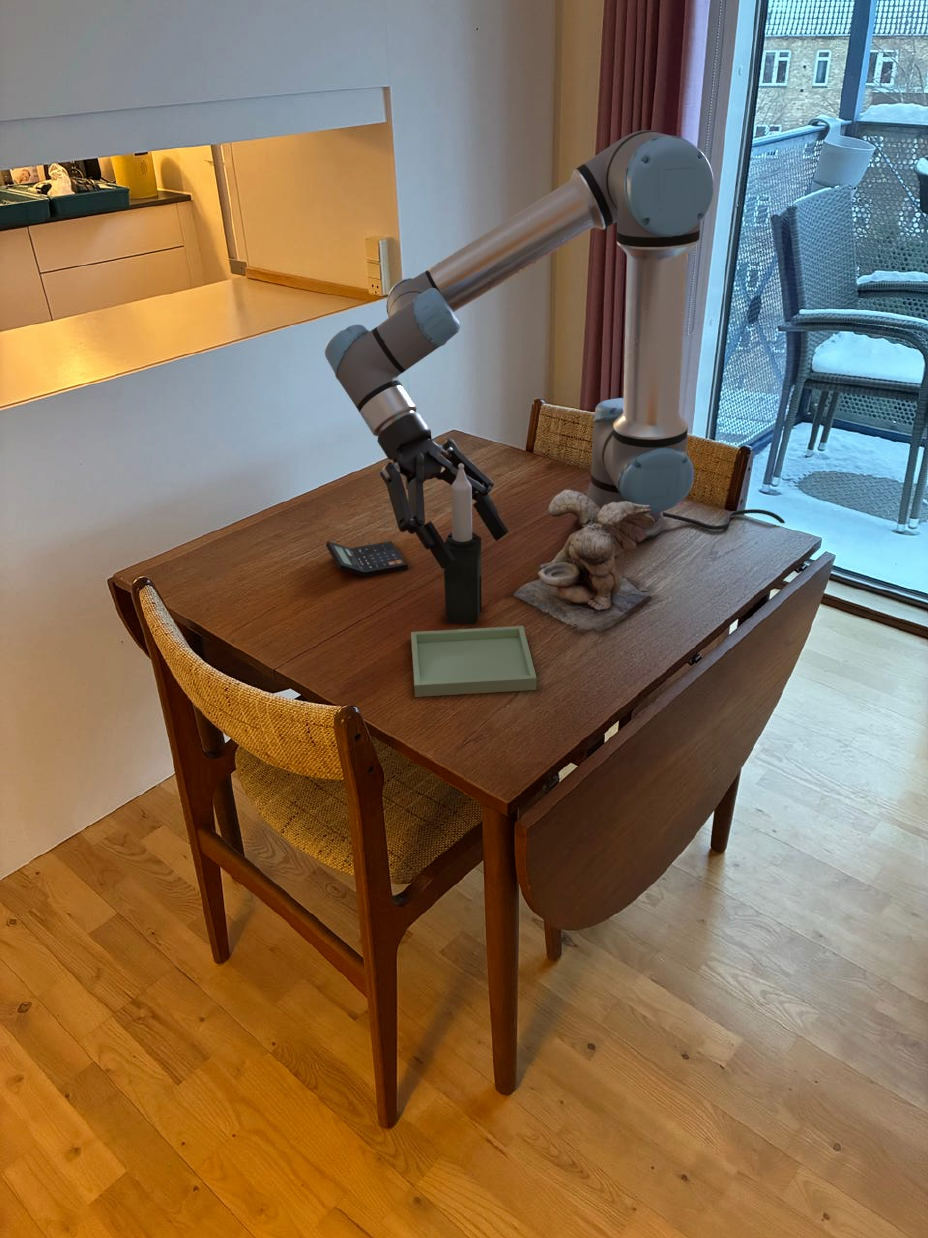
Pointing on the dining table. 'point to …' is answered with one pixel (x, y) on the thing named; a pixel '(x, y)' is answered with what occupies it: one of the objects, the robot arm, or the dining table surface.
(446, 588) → the candle
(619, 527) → the cherub figurine
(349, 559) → the calculator
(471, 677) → the tray
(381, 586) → the dining table surface
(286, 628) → the dining table surface
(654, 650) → the dining table surface
